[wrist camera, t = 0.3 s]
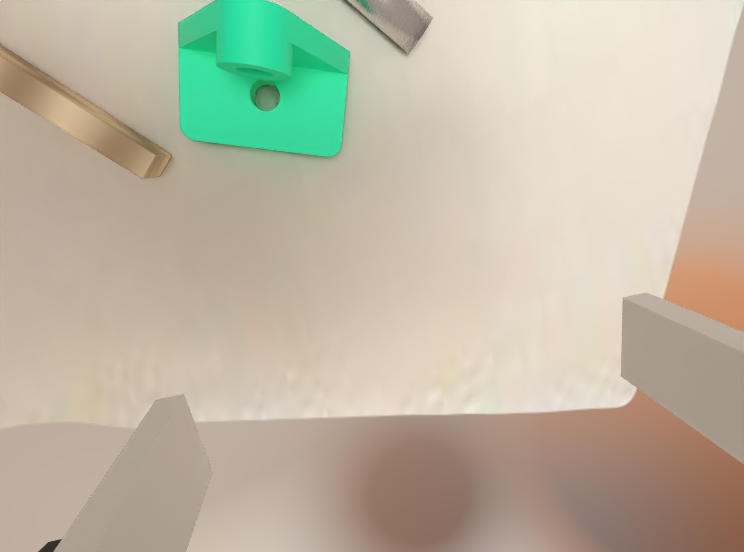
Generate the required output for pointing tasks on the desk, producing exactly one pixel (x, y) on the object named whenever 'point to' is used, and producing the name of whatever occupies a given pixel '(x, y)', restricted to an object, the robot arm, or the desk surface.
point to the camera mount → (260, 79)
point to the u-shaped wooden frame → (79, 117)
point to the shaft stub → (396, 19)
